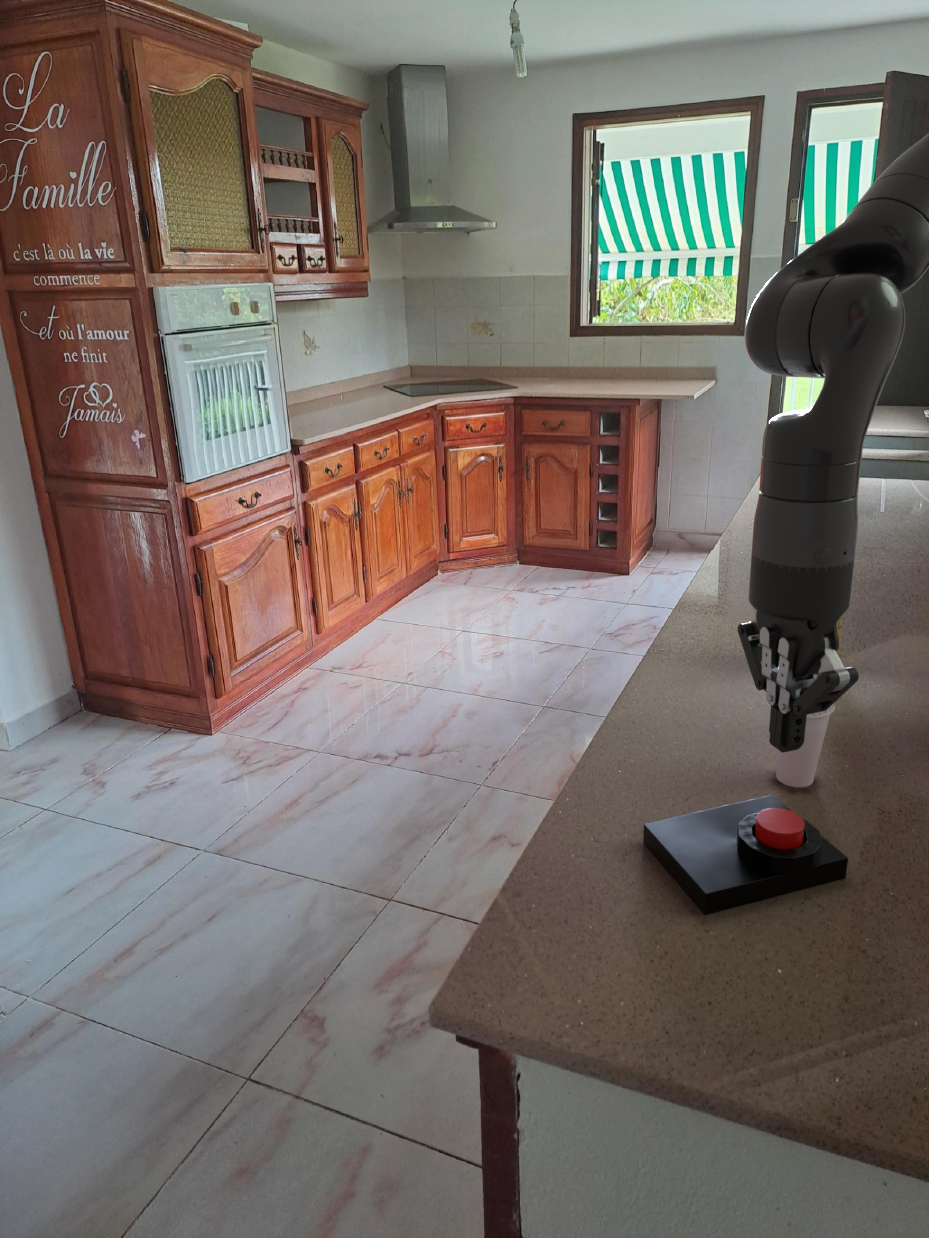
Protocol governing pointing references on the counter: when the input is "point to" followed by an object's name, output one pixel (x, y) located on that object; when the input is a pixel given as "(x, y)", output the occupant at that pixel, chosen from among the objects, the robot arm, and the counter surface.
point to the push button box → (738, 856)
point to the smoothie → (804, 753)
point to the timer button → (779, 828)
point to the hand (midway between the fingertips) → (785, 746)
